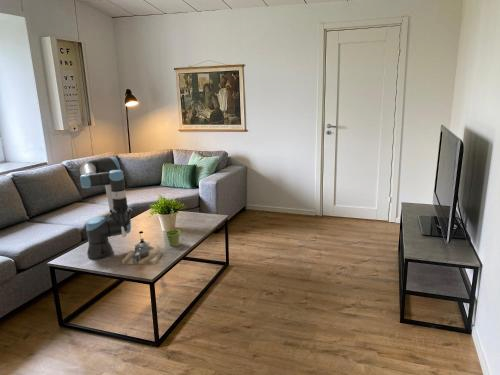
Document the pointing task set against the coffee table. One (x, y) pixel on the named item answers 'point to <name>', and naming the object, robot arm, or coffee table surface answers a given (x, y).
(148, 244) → the grey joystick
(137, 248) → the saucepan with lid
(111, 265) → the coffee table surface
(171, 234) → the plant pot
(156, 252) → the wooden cutting board
